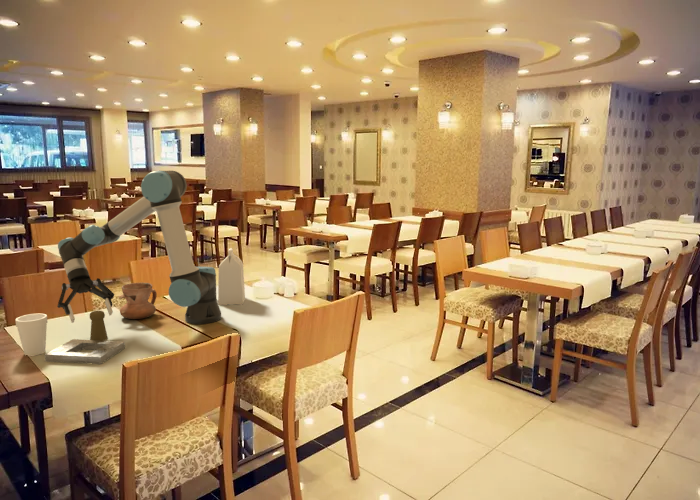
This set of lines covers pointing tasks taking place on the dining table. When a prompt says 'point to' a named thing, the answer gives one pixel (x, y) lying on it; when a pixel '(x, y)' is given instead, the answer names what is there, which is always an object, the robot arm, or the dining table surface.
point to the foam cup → (32, 333)
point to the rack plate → (71, 355)
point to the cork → (98, 326)
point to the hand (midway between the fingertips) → (92, 317)
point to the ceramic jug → (138, 300)
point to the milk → (231, 280)
